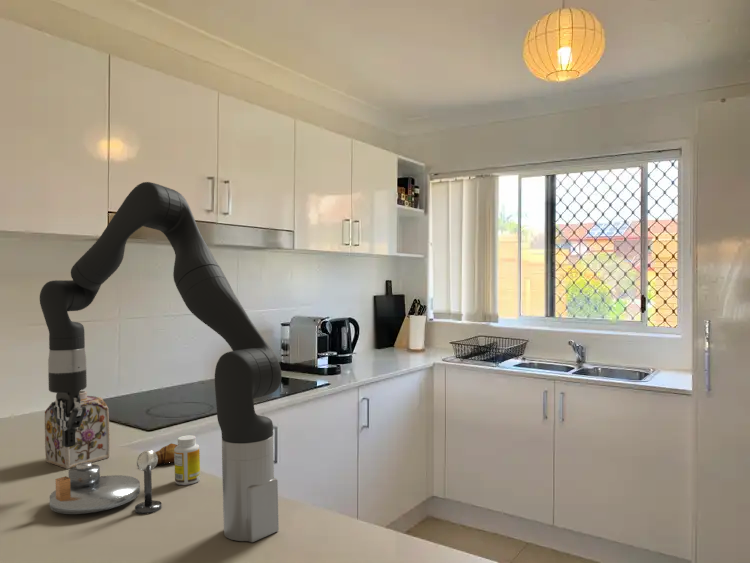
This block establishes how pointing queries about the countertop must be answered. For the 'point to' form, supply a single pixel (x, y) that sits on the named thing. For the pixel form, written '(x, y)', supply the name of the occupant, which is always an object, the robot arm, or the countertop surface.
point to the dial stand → (147, 482)
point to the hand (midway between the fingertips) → (68, 445)
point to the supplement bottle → (187, 460)
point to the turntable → (93, 495)
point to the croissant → (166, 454)
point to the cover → (84, 475)
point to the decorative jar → (80, 435)
